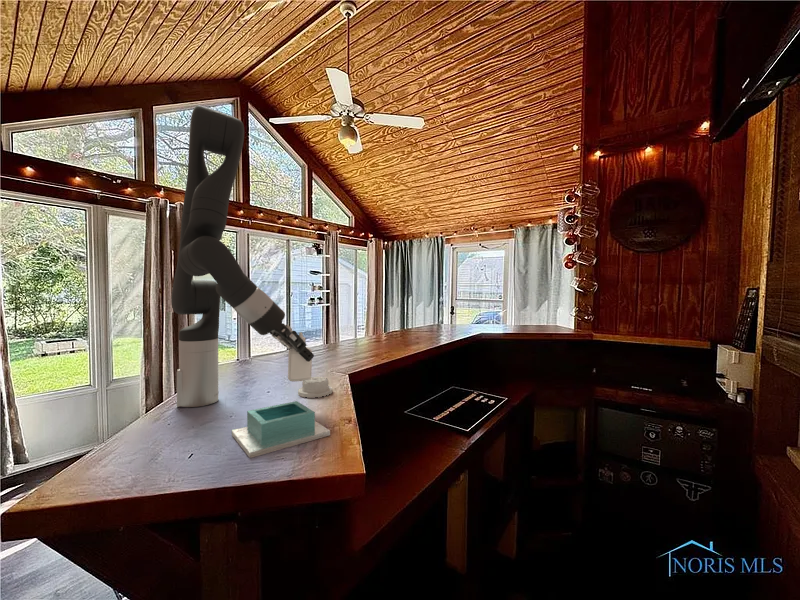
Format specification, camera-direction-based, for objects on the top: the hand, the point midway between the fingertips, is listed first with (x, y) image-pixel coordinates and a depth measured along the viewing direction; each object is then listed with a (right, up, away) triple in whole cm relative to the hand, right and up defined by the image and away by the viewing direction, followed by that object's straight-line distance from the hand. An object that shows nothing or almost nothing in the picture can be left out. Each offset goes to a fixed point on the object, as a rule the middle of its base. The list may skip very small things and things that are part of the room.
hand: (307, 357), depth 88 cm
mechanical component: (-2, -14, +15) cm, 20 cm away
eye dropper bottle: (-2, -6, -1) cm, 6 cm away
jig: (-1, -14, -16) cm, 21 cm away
